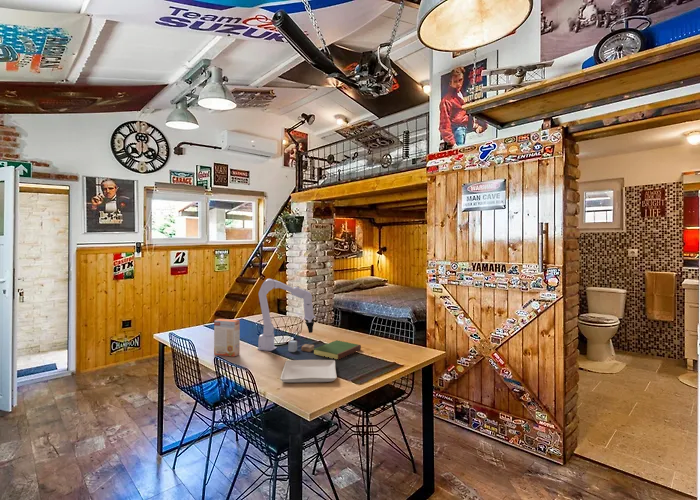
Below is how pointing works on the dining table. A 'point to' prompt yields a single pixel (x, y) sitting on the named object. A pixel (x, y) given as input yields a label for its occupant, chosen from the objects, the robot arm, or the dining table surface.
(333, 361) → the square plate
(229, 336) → the cracker box
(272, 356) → the dining table surface
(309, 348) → the walnut base block
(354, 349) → the hardcover book
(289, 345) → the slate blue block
